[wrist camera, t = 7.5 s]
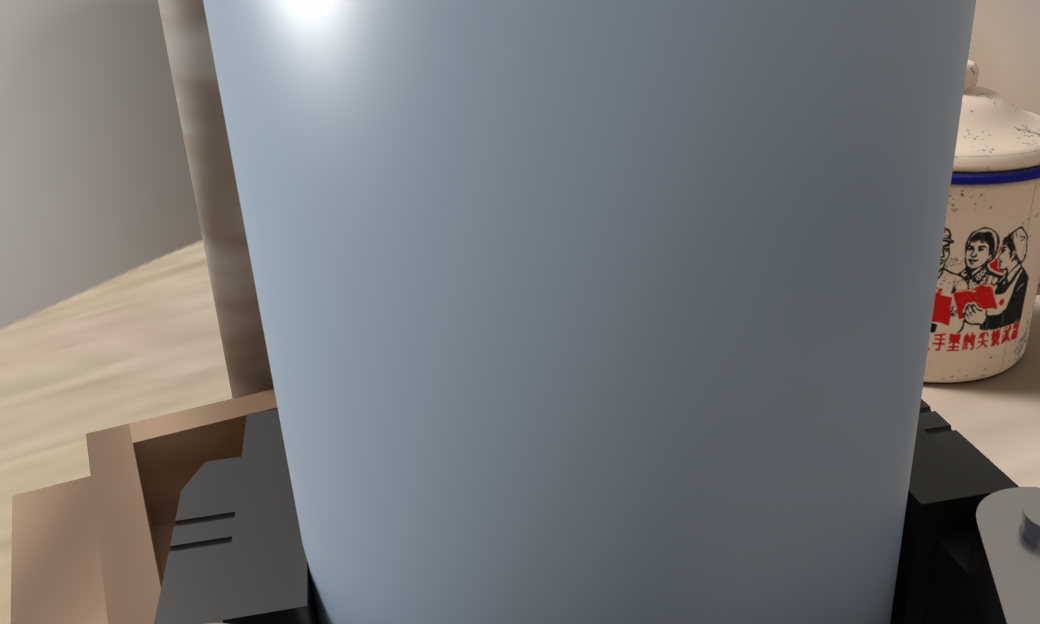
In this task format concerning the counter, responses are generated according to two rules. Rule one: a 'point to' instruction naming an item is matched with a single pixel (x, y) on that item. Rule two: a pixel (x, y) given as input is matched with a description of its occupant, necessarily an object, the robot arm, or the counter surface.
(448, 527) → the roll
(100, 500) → the holder
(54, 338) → the counter surface
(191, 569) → the robot arm
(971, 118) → the teacup with lid
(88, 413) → the counter surface
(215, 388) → the counter surface
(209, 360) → the counter surface
